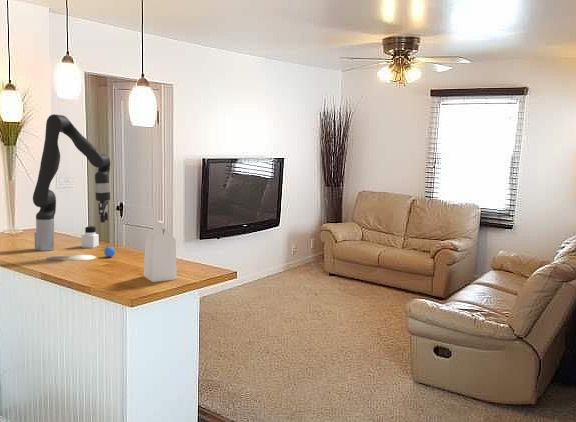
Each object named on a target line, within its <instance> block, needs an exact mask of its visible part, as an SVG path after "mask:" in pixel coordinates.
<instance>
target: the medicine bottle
mask: <svg viewBox="0 0 576 422" xmlns="http://www.w3.org/2000/svg"><path fill="white" fill-rule="evenodd" d="M96 229H97V228H96V226H94V225H87V226H85V227H84V234H82V235H81V248H83V249H84V248H86V249H94V248H97V247H99V246H100V245H99V243H100V241H99V240H100V239H99V236H100V235H99V233H96Z"/></svg>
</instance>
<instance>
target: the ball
mask: <svg viewBox="0 0 576 422" xmlns="http://www.w3.org/2000/svg"><path fill="white" fill-rule="evenodd" d="M103 254H104V255H105V257H106V258H111V257H113V256H115V254H116V250H115V248H114V247H113V246H107V247H105V249H104V251H103Z"/></svg>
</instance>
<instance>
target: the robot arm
mask: <svg viewBox="0 0 576 422" xmlns="http://www.w3.org/2000/svg"><path fill="white" fill-rule="evenodd" d="M60 133H63V134H64V135H65V136H67V137H68V138H69V139H70V140H71V141H72V143H73V144H74V146H75V148H76V149H77V150H78V151H79V152H80V153H81V154H82V155H84V156H85V157H86V160H88V161H89V163H90V164H91V165H92V166H93V167H95V168H97V172H96V173H95V174H94V183H95V186H94V190H95V191H94V192H95V193H94V194H95V201H97V202H98V201H99V203H98V216H99V217H100V218H99V219H100V221H99V222H100V223H105V222H106V221H108V220H109V219H108V218H109V216H108V214H109V201H110V200H111V186H110V178H109V177H110V176H109V175H110V171H111V170H110V169H111V159H110V156H108V155H107V154H103V153H102V154H101V153H98V151H97V147H96V146H95V145H93V144H92V142H90V141H89V140H88V139H87V138H86V137H85V136H83V135H82V134H81V132H79V130H78V129H77V128H76V126H75V125H73V123H72V122H71V121H70V119H69V118H68V117H67V116H66V115H63V114H62V115H61V114H51V115H49V116H48V117H47V119H46V123H45V134H44V144H43V151H42V155H41V159H40V166H39V171H38V176H37V179H36V184H35V187H34V191H33V194H32V195H33V196H32V202H33V204H34V206H36V207H37V208H39V211H37V213H35V214H36V215H35V232H34V250H36V251H43V252H45V251H53V250H55V215H56V211H57V210H56V209H57V197H56V194H55V192H54V191H53V190H51V189H50V186H51V182H52V181H53V179H54V178H55V176H56V174H57V173H58V170H59V168H60V161H61V152H60V148H59V136H60Z"/></svg>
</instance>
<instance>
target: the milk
mask: <svg viewBox="0 0 576 422" xmlns="http://www.w3.org/2000/svg"><path fill="white" fill-rule="evenodd" d="M144 245H145V246H144V248H145V249H144V259H143V260H144V262H143V277H144V278H146V280H149V281H151V282H152V283H154V282H155V283H156V282H165V281H175V279H176V280H178V275H177V274H178V268H177V242H176V238H175V236H173V235H172V234H171V233H170V232H169V230H167V228H166V225H165V222H164V221H162V220H157V221H156V225H155V227H154V228H153V229H152V230H151V231H150V232H148V233H147V234H146V236H145V243H144Z"/></svg>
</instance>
